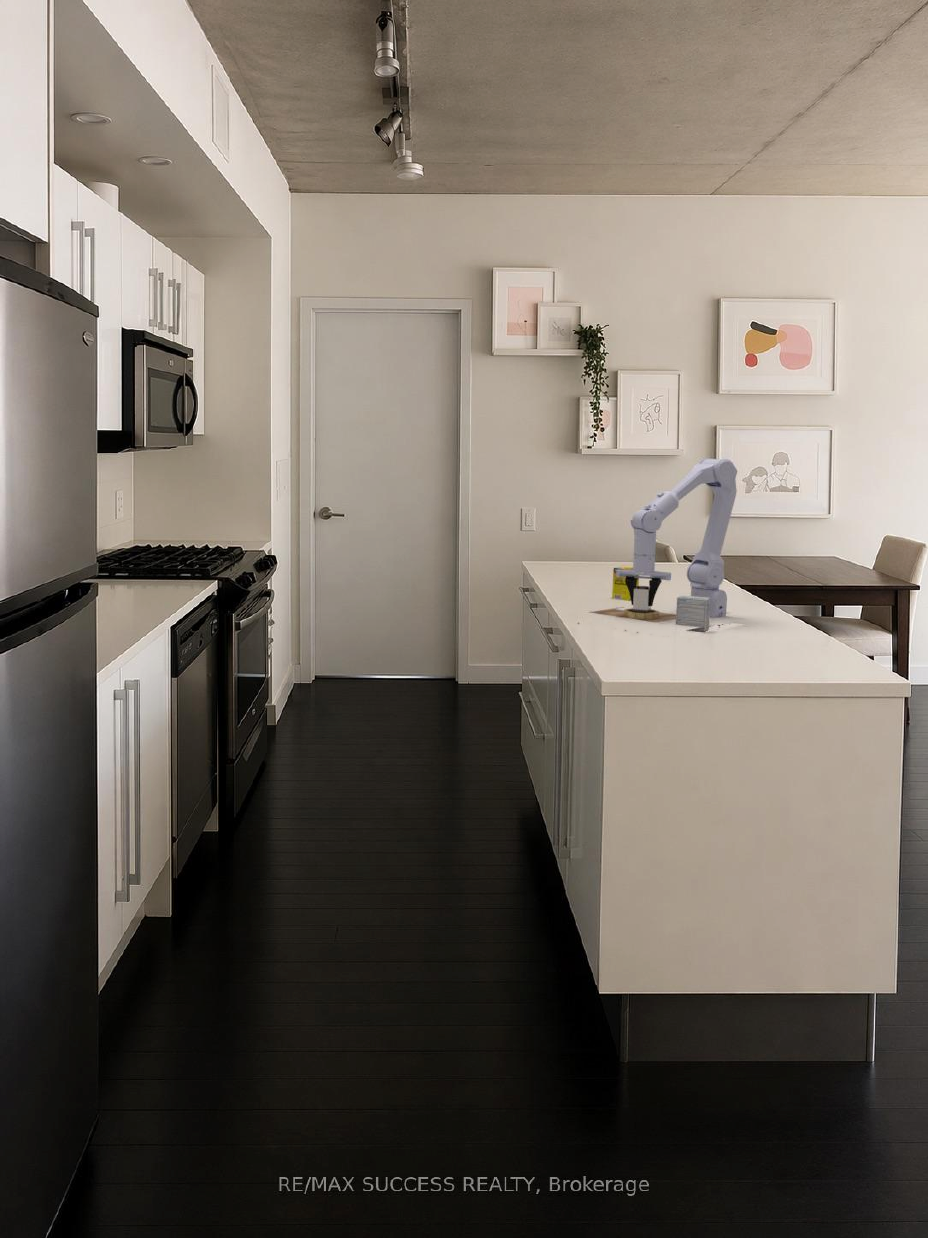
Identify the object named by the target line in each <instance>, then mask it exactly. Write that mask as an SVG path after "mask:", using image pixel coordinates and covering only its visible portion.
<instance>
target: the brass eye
mask: <svg viewBox="0 0 928 1238" xmlns="http://www.w3.org/2000/svg"><path fill="white" fill-rule="evenodd" d="M659 612H660V610H657V609H653V608H651V613H636V612H633V608H631V609H625V610H624V617H627V618H626V619H629V618H632V619H631V620H636V619H658V618H659Z"/></svg>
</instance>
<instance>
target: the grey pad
mask: <svg viewBox="0 0 928 1238" xmlns="http://www.w3.org/2000/svg"><path fill="white" fill-rule="evenodd" d="M624 607H625V606H624ZM617 608H618V609H614V610H615V611H622V612H624V610H625V609H631V608H633V606H626V607H625V608H620V607H617Z"/></svg>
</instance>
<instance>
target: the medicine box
mask: <svg viewBox="0 0 928 1238" xmlns="http://www.w3.org/2000/svg"><path fill="white" fill-rule="evenodd" d="M675 611H676V613H675V615H676V619H675V625H679V626H680V625H681V626H690V627H696V628H692V629H686V630H685V631H687V632H700V633H706V632H708V631H709V630H710V626H709V625H710V617H709V614H710V598H707V597H696V596H691V595H680V596H678V597H676V610H675Z"/></svg>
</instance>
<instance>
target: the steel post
mask: <svg viewBox="0 0 928 1238" xmlns="http://www.w3.org/2000/svg"><path fill="white" fill-rule="evenodd" d="M632 607H633V612H636V613H651V609H652V606H649V586H648V585H639V586H637V587H636V588H634V598H633V605H632Z"/></svg>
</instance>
